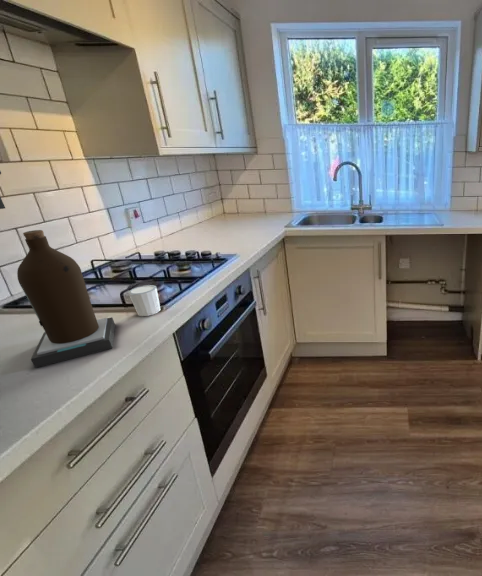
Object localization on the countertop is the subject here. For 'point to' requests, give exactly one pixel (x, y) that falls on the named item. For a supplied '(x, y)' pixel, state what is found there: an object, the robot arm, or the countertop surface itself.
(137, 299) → the white faceted cylinder
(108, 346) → the scale
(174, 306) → the countertop surface
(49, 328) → the olive oil
